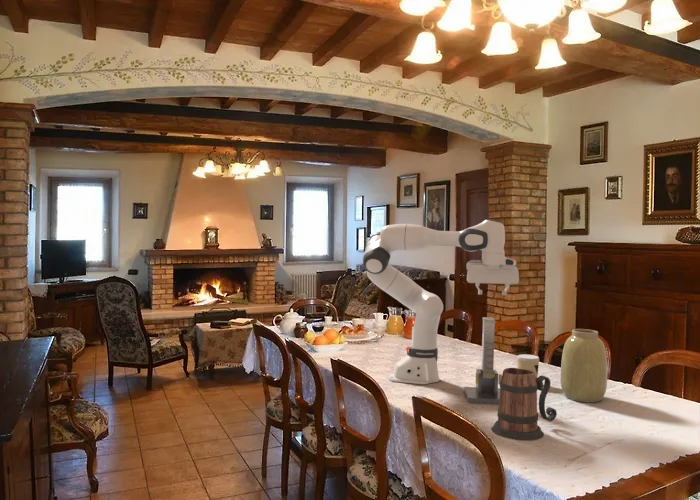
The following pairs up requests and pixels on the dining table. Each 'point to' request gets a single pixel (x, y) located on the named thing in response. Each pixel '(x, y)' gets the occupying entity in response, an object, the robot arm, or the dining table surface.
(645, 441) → the dining table surface
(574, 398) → the vase
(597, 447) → the dining table surface
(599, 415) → the dining table surface
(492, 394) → the stand base
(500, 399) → the tankard
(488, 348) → the column
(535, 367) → the coffee cup
